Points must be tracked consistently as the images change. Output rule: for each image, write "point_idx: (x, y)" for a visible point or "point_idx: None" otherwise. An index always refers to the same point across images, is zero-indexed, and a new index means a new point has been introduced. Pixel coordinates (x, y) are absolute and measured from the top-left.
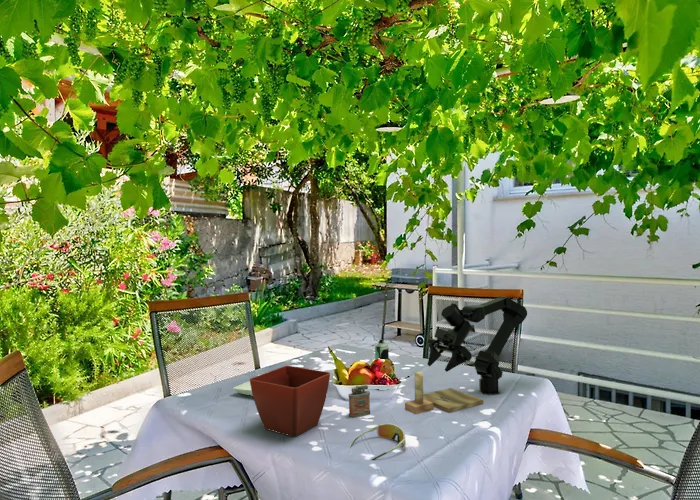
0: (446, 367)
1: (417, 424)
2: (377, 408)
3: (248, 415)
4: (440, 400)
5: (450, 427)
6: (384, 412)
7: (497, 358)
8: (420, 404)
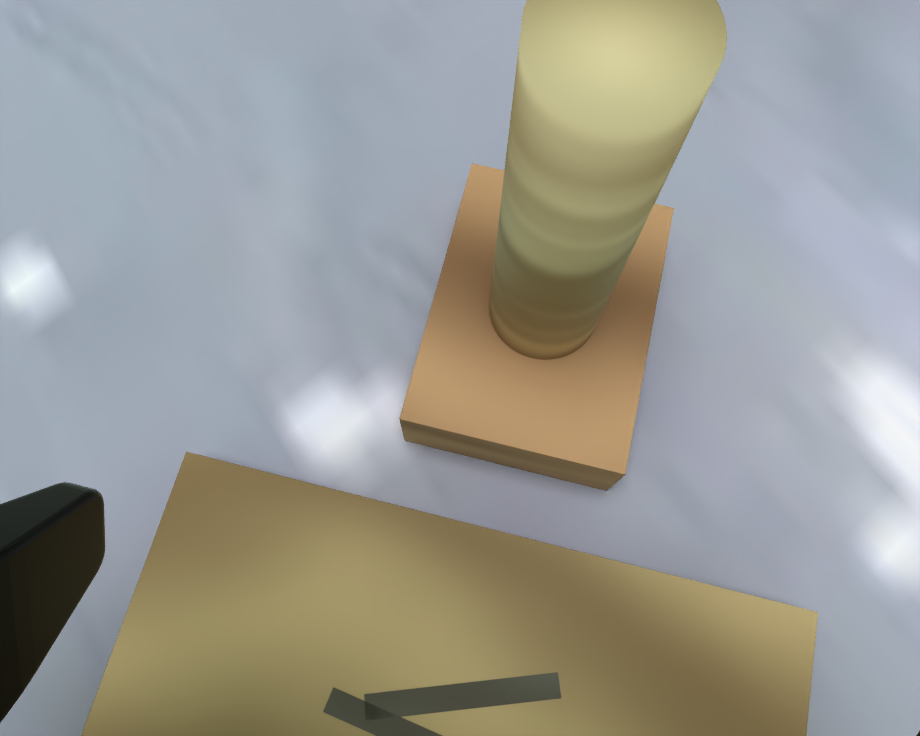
0: (4, 522)
1: (299, 28)
2: (866, 95)
3: None
4: (440, 665)
5: (8, 147)
6: (731, 60)
7: None
8: (488, 267)
